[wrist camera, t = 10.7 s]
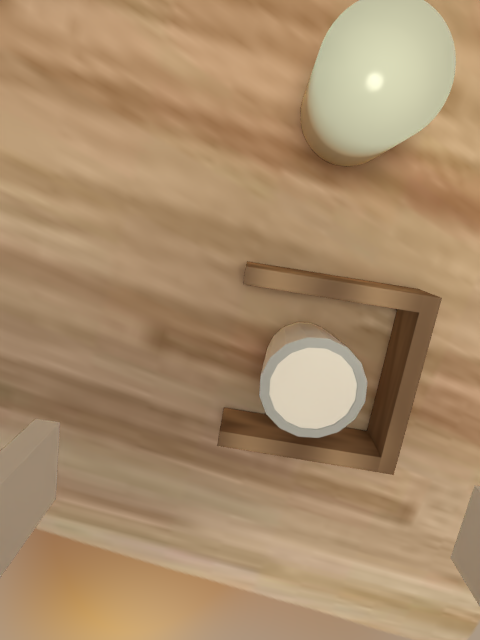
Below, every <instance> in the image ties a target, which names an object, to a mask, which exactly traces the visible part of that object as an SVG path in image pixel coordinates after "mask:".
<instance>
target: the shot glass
mask: <svg viewBox="0 0 480 640" xmlns="http://www.w3.org/2000/svg"><path fill="white" fill-rule="evenodd" d="M366 390H367V379H366V376H365V373H364V370H363V366H362V363H361V362H360V361H359V360H358V359H357V358H356V356H355V355H354V354H353V353H352V352H351V351H350V350H349V349H348V347H346V346H345V345H344V344H342V343H341V342H340V341H339V340H337V339H336V338H335V337H334V336H332V335H331V334H330V333H329V332H327V331H326V330H325V329H323V328H321V327H319V326H317V325H315V324H313V323H305V322H296V323H293V324H290V325H287V326H284V327H283V328H282V329H281V330H279V331H278V332H277V333H276V334H275V335H274V336H273V338H272V340H271V342H270V344H269V346H268V348H267V352H266V356H265V360H264V364H263V368H262V372H261V377H260V393H259V396H260V399H261V401H262V404H263V407H264V410H265V412H266V414H267V415H268V416H269V417H270V418H271V420H272V421H273V422H274V423H275V424H276V425H277V426H278V427H279V428H280V429H283V430H285V431H287V432H289V433H291V434H293V435H296V436H298V437H312V438H320V437H323V436H327V435H330V434H333V433H337V432H339V431H340V430H342V429H343V428H344V427H346V426H347V425H348V424H350V423H351V422H352V421H353V420H355V418H356V417H357V415H358V413H359V411H360V410H361V408H362V406H363V405H364V403H365V398H366Z"/></svg>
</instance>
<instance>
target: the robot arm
mask: <svg viewBox="0 0 480 640" xmlns="http://www.w3.org/2000/svg"><path fill="white" fill-rule="evenodd" d="M59 433H60V422H54V421H48V420H41V419H35V420H34V421H32V422H31V423H30V424H29V425H28V426H27V427H26V428H25V429H24V430H23V431H22V432H20V433H19V434H18V435H17V436H16V437H15V438H14V439H13V440H12V441H11V442H10V443H8V444H7V445H6V446H5V447H4V448H3V449H2V450H1V451H0V577H1V576H2V574H3V573H4V572H5V570H6V569H7V567H8V566H9V564H10V563H11V561H12V560H13V559H14V557H15V556H16V555H17V553H18V552H19V550H20V549H21V547H22V546H23V544H24V543H25V542H26V540H27V539H28V538H29V536H30V535H31V533H32V532H33V530H34V529H35V528H36V526H37V525H38V523H39V522H40V520H41V519H42V518H43V516H44V515H45V513H46V512H47V510H48V509H49V508H50V506H51V505H52V503H53V502H54V500H55V499H56V486H57V468H58V451H59ZM451 559H452V561H453V563H454V564H455V566H456V568H457V569H458V571H459V573H460V574H461V576H462V578H463V579H464V581H465V583H466V584H467V586H468V588H469V589H470V591H471V593H472V594H473V596H474V598H475V599H476V601H477V603H478V604H479V606H480V486H474V489H473V492H472V495H471V498H470V501H469V504H468V507H467V510H466V513H465V516H464V519H463V522H462V525H461V528H460V531H459V534H458V537H457V540H456V543H455V546H454V549H453V552H452V555H451Z"/></svg>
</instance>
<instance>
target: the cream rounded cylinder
mask: <svg viewBox="0 0 480 640" xmlns="http://www.w3.org/2000/svg"><path fill="white" fill-rule="evenodd" d="M455 66H456V56H455V47H454V42H453V39H452V36H451V32H450V30H449V28H448V26H447V24H446V22H445V21H444V19H443V18H442V16H441V15H440V14H439V13H438V12H437V11H436V10H435V8H433V7H432V6H431V5H430V4H428V3H427V2H425V1H424V0H359V1H357V2H356V3H354V4H353V5H351V6H350V7H349V8H347V9H346V10H345V11H344V12H343V13H342V14H341V15H340V16H339V17H338V18H337V19H336V20H335V22H334V23H333V24H332V26H331V27H330V29H329V30H328V32H327V34H326V36H325V38H324V40H323V42H322V45H321V48H320V51H319V53H318V56H317V59H316V62H315V65H314V68H313V71H312V74H311V76H310V79H309V82H308V85H307V88H306V91H305V94H304V97H303V100H302V104H301V111H300V121H301V128H302V131H303V135H304V137H305V139H306V141H307V143H308V145H309V146H310V148H311V149H312V150H313V151H314V152H315V153H316V154H317V155H318V156H319V157H320V158H322V159H323V160H325V161H327V162H329V163H331V164H334V165H338V166H356V165H361V164H364V163H366V162H368V161H371V160H372V159H374V158H376V157H378V156H379V155H381V154H383V153H384V152H386V151H388V150H389V149H391V148H393V147H394V146H396V145H398V144H399V143H401V142H403V141H404V140H406V139H408V138H410V137H411V136H413V135H414V134H416V133H418V132H419V131H421V130H422V129H423V128H424V127H426V126H427V125H428V124H429V123H430V122H431V121H432V120H433V119H434V118H435V117H436V115H437V114H438V113H439V111H440V110H441V109H442V107H443V105H444V103H445V102H446V100H447V98H448V95H449V93H450V91H451V87H452V84H453V80H454V75H455Z"/></svg>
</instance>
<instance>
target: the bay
mask: <svg viewBox="0 0 480 640" xmlns="http://www.w3.org/2000/svg"><path fill="white" fill-rule="evenodd" d="M243 284H246V285H252V286H258V287H264V288H270V289H277V290H283V291H289V292H295V293H301V294H307V295H314V296H320V297H326V298H332V299H338V300H345V301H351V302H357V303H363V304H369V305H375V306H382V307H388V308H394V309H397V313H396V317H395V321H394V325H393V329H392V333H391V337H390V341H389V345H388V349H387V353H386V357H385V361H384V365H383V369H382V373H381V377H380V381H379V385H378V389H377V393H376V397H375V402H374V406H373V410H372V414H371V418H370V422H369V426H368V430H367V431H363V430H357V429H351V428H345V427H344V428H343V429H342V430H340V431H339V432H337V433H333V434H330V435H327V436H323V437H320V438H312V437H298V436H296V435H293V434H291V433H289V432H287V431H285V430H283V429H280V428H279V427H278V426H277V425H276V424H275V423H274V422H273V421H272V420H271V418H270V417H269V416H268V415H265V414H259V413H253V412H247V411H241V410H235V409H229V408H224V411H223V416H222V421H221V426H220V432H219V438H218V444H217V446H222V447H228V448H234V449H240V450H246V451H253V452H259V453H265V454H271V455H277V456H283V457H289V458H295V459H301V460H307V461H313V462H319V463H325V464H331V465H337V466H344V467H350V468H356V469H362V470H368V471H374V472H380V473H386V474H392V475H394V471H395V468H396V464H397V460H398V457H399V453H400V449H401V446H402V442H403V438H404V435H405V431H406V427H407V424H408V420H409V416H410V413H411V409H412V405H413V402H414V398H415V394H416V391H417V387H418V383H419V380H420V376H421V372H422V369H423V365H424V361H425V358H426V354H427V350H428V347H429V343H430V339H431V336H432V332H433V328H434V325H435V321H436V317H437V314H438V310H439V306H440V303H441V299H442V298H440V297H438V296H435V295H433V294H430V293H427V292H425V291H422V290H420V289H414V288H408V287H402V286H396V285H390V284H383V283H377V282H371V281H365V280H359V279H352V278H346V277H340V276H334V275H328V274H321V273H315V272H309V271H303V270H297V269H290V268H284V267H278V266H272V265H266V264H259V263H253V262H247V264H246V268H245V275H244V281H243Z"/></svg>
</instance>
